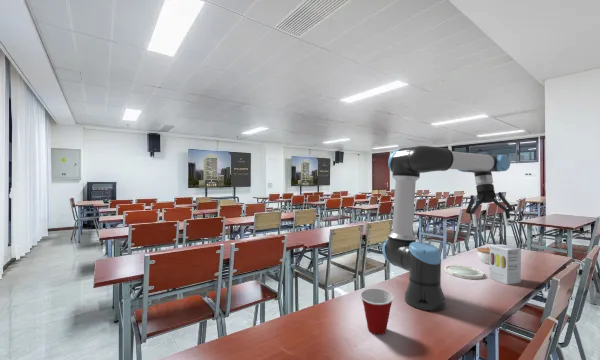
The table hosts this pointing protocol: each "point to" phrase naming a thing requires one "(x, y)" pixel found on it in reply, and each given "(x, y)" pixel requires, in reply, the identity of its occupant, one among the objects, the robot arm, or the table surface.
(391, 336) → the table surface
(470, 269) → the dish
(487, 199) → the robot arm
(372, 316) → the plastic cup
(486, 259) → the lidded jar
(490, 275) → the supplement box
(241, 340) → the table surface
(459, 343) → the table surface
